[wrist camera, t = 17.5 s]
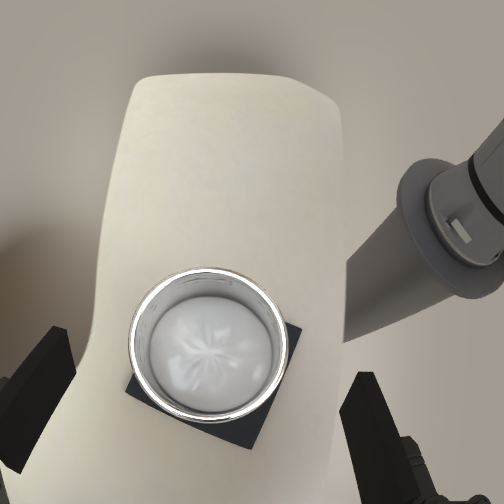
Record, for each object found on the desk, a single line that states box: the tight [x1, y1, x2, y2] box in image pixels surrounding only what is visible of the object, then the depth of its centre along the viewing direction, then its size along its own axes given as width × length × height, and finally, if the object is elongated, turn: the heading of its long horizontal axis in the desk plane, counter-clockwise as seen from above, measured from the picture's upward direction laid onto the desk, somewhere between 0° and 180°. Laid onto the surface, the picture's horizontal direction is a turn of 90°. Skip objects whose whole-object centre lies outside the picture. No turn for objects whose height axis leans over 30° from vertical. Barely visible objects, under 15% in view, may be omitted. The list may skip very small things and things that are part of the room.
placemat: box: [125, 322, 302, 450], centre depth 26 cm, size 12×12×1 cm
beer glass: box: [128, 267, 289, 423], centre depth 19 cm, size 7×7×15 cm
